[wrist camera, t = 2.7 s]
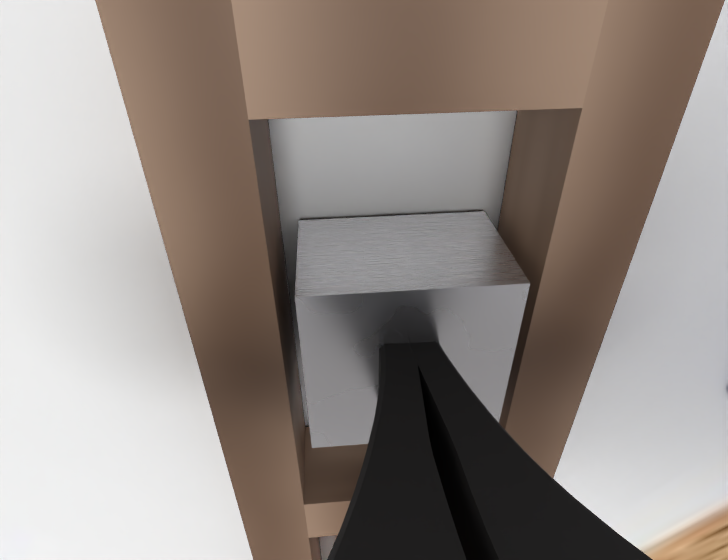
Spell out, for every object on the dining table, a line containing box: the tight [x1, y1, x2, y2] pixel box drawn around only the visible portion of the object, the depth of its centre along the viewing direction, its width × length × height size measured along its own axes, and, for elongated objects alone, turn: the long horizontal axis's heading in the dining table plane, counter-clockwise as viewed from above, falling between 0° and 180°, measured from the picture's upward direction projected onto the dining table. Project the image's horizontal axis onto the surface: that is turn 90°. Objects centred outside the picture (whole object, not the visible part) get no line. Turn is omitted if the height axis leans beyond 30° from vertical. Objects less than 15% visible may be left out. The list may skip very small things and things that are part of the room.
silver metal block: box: [295, 211, 530, 448], centre depth 13 cm, size 5×5×3 cm
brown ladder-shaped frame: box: [95, 0, 725, 560], centre depth 17 cm, size 10×30×3 cm, turn 1°
